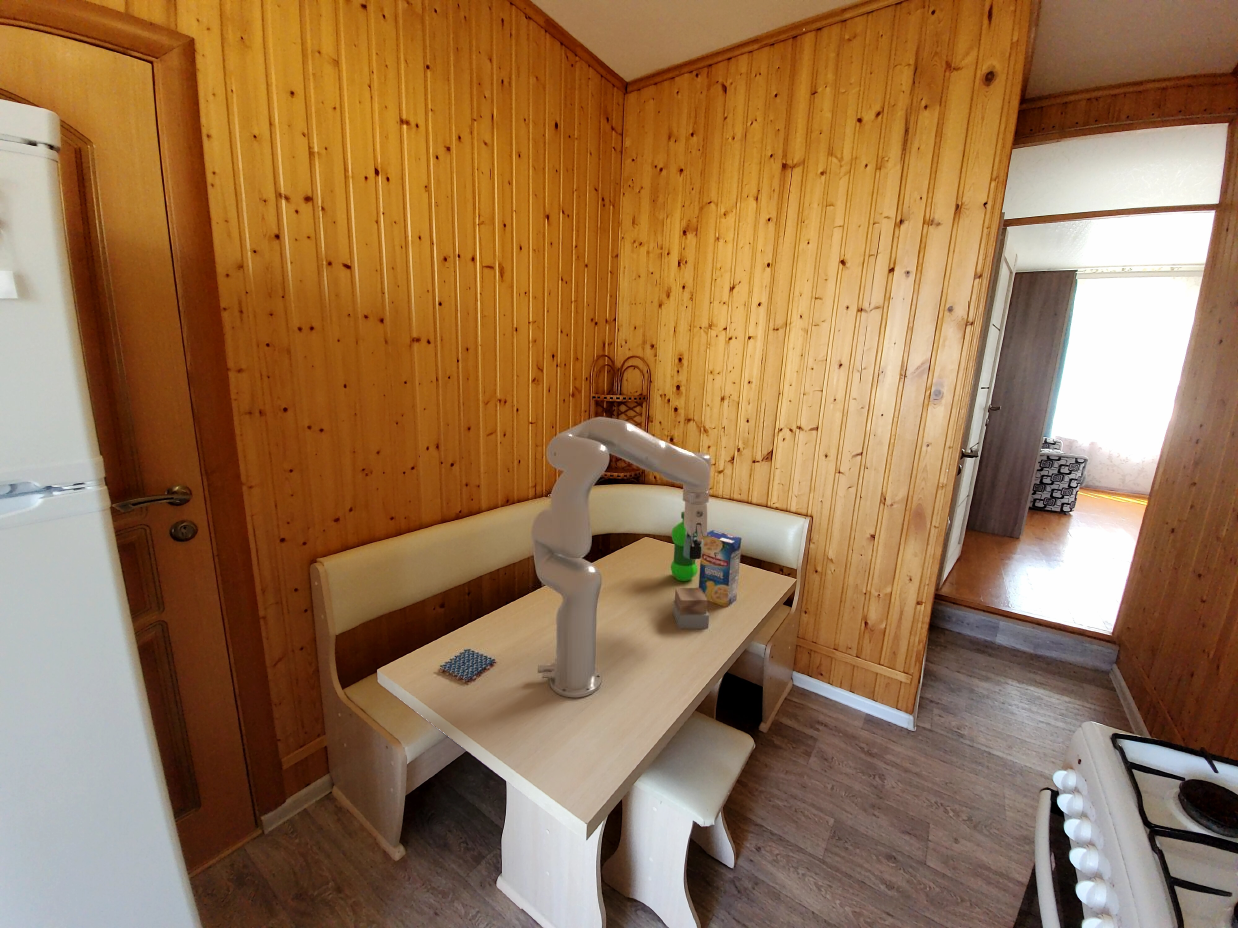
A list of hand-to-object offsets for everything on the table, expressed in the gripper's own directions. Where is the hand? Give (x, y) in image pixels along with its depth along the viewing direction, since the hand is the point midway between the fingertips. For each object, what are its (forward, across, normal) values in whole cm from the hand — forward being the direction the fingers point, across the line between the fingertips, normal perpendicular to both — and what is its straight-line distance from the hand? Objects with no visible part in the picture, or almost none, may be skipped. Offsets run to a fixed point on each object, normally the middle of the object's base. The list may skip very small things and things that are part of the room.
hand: (692, 553), depth 146 cm
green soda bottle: (+22, +31, -5) cm, 38 cm away
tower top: (+18, +1, 0) cm, 18 cm away
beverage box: (+22, +15, -13) cm, 30 cm away
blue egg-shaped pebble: (+1, 0, 0) cm, 1 cm away
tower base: (+22, +1, -1) cm, 22 cm away
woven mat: (+22, -21, +62) cm, 69 cm away
